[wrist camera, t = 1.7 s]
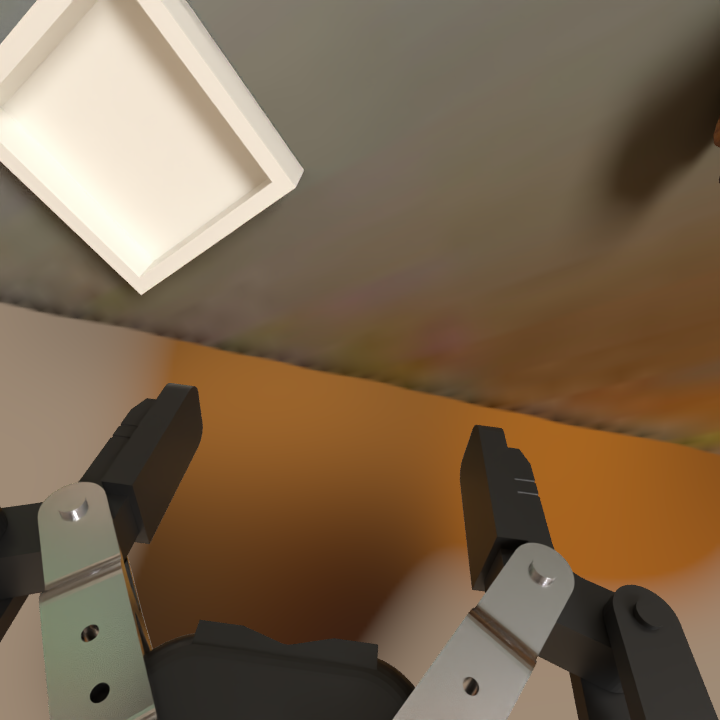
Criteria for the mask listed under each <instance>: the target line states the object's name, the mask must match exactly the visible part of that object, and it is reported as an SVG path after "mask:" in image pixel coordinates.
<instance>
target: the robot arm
mask: <svg viewBox="0 0 720 720" xmlns="http://www.w3.org/2000/svg"><path fill="white" fill-rule="evenodd" d="M202 425H203V424H202V417H201V410H200V403H199V395H198V390H197V388H196V387H195V386H187V385H181V384H173V383H168V384H167V385H166V386H165V387H164V389H163V390H162V392H161V393H160V395H159V396H158V398H157V399H148V398H147V399H145V400H144V401H143V402H141V403H140V404H138V405H137V406H135V407H134V408H133V409H131V410H130V412H129V413H128V414H127V416H126V417H125V419H124V420H123V421H122V423H121V426H119V427H118V428H117V430H116V431H115V432H114V434H113V437H112V438H110V439H109V441H108V442H107V444H106V445H105V446H104V448H103V449H102V450H101V452H100V453H99V455H98V456H97V457H96V459H95V460H94V461H93V463H92V464H91V466H90V467H89V468H88V470H87V471H86V473H85V474H84V475H83V477H82V478H81V479H80V481H79V482H78V483H73V484H69V485H67V486H64V487H62V488H60V489H58V490H57V491H55V492H54V493H52V494H51V495H50V496H49V497H48V498H47V499H46V500H45V501H44V502H41V503H35V504H28V505H21V506H14V507H6V508H1V507H0V642H1V640H2V638H3V637H4V635H5V633H6V631H7V630H8V628H9V627H10V625H11V624H12V622H13V620H14V619H15V617H16V615H17V614H18V612H19V610H20V608H21V607H22V605H23V603H24V602H25V600H26V599H27V597H28V595H29V594H34V593H40V592H41V593H40V596H39V608H40V619H41V630H42V640H43V651H44V660H45V661H44V662H45V672H46V683H47V694H48V704H49V715H50V720H507V718H508V716H509V714H510V712H511V711H512V709H513V707H514V705H515V703H516V701H517V699H518V697H519V695H520V694H521V692H522V690H523V688H524V686H525V684H526V682H527V680H528V679H529V677H530V675H531V673H532V671H533V669H534V667H535V664H536V659H537V657H538V656H539V657H541V658H543V659H545V660H547V661H549V662H551V663H553V664H555V665H557V666H559V667H561V668H563V669H565V670H567V671H569V673H570V678H571V683H572V688H573V693H574V699H575V704H576V709H577V714H578V719H579V720H718V717H717V715H716V713H715V710H714V708H713V705H712V702H711V700H710V697H709V695H708V692H707V690H706V687H705V685H704V682H703V680H702V677H701V675H700V672H699V670H698V667H697V665H696V662H695V660H694V657H693V654H692V652H691V649H690V647H689V644H688V642H687V639H686V637H685V634H684V632H683V629H682V627H681V624H680V622H679V620H678V618H677V616H676V614H675V613H674V611H673V610H672V609H671V607H670V606H669V605H668V604H667V603H666V602H665V601H664V600H663V599H662V598H660V597H659V596H657V595H656V594H655V593H653V592H652V591H650V590H648V589H646V588H643V587H640V586H636V585H625V586H622V587H620V588H619V589H618V590H617V591H616V592H612V591H610V590H608V589H606V588H603V587H601V586H599V585H596V584H594V583H592V582H590V581H587V580H585V579H583V578H581V577H580V576H578V575H576V574H575V573H574V572H572V570H571V568H570V566H569V564H568V563H567V562H566V560H565V559H564V558H563V557H562V556H561V555H560V554H559V553H557V552H556V551H555V550H554V547H553V545H552V542H551V538H550V534H549V530H548V527H547V523H546V519H545V516H544V512H543V509H542V505H541V501H540V497H538V490H537V487H536V484H535V483H534V481H535V479H534V476H533V472H532V468H531V465H530V463H529V462H528V460H527V459H526V458H525V457H524V455H523V454H522V452H521V451H520V450H519V449H515V448H508V447H507V444H506V439H505V435H504V431H503V429H502V428H496V427H488V426H481V425H475V426H474V428H473V430H472V433H471V436H470V439H469V442H468V445H467V448H466V450H465V453H464V457H463V459H462V463H461V470H460V485H461V494H462V503H463V511H464V521H465V530H466V539H467V548H468V556H469V566H470V574H471V584H472V590H479V591H485V594H484V596H483V598H482V599H481V600H480V602H479V603H478V604H477V606H476V607H475V608H473V609H472V610H471V611H470V612H469V613H468V615H467V616H466V617H465V619H464V620H463V621H462V623H461V624H460V626H459V627H458V628H457V630H456V631H455V633H454V634H453V635H452V637H451V638H450V640H449V641H448V642H447V644H446V645H445V647H444V648H443V650H442V651H441V652H440V654H439V655H438V657H437V658H436V659H435V661H434V662H433V664H432V665H431V666H430V668H429V669H428V671H427V672H426V673H425V675H424V676H423V678H422V679H421V680H420V682H419V683H418V685H417V686H416V687H414V685H413V684H412V683H411V682H410V681H409V680H408V679H407V678H406V677H405V676H404V675H403V674H402V673H401V672H400V671H398V670H397V669H396V668H395V667H393V666H391V665H390V664H388V663H387V662H385V661H383V660H380V659H378V658H377V653H378V645H377V644H370V643H363V642H356V641H348V640H341V639H327V640H320V641H313V642H307V643H299V644H293V645H285V644H282V643H280V642H278V641H275V640H273V639H271V638H269V637H266V636H264V635H262V634H260V633H258V632H256V631H254V630H251V629H249V628H247V627H245V626H241V625H233V624H226V623H218V622H211V621H205V620H200V621H199V624H198V627H197V630H196V633H195V634H188V635H185V636H181V637H178V638H175V639H173V640H170V641H168V642H165V643H163V644H162V645H160V646H158V647H156V648H154V649H152V645H151V642H150V638H149V635H148V632H147V629H146V625H145V622H144V618H143V614H142V610H141V606H140V602H139V599H138V594H137V590H136V586H135V583H134V579H133V575H132V571H131V567H130V563H129V559H128V556H127V555H128V553H129V551H130V549H131V548H132V546H133V544H134V542H139V543H146V544H150V542H151V540H152V538H153V536H154V534H155V532H156V530H157V528H158V526H159V524H160V522H161V520H162V518H163V516H164V514H165V512H166V510H167V508H168V506H169V503H170V502H171V500H172V498H173V496H174V494H175V492H176V490H177V488H178V486H179V484H180V482H181V480H182V478H183V476H184V474H185V472H186V470H187V468H188V466H189V464H190V462H191V460H192V458H193V456H194V454H195V452H196V450H197V448H198V446H199V443H200V441H201V436H202V429H203V426H202Z"/></svg>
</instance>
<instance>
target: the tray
mask: <svg viewBox="0 0 720 720" xmlns="http://www.w3.org/2000/svg"><path fill="white" fill-rule="evenodd" d="M0 161H1V162H2V163H3V164H4V165H5V166H6V167H7V168H8V169H9V170H10V171H11V172H12V173H13V174H15V175H16V176H17V177H18V178H19V179H20V180H21V181H22V182H23V183H24V184H25V185H26V186H27V187H28V188H29V189H30V190H31V191H32V192H33V193H34V194H36V195H37V196H38V197H39V198H40V199H41V200H42V201H43V202H44V203H45V204H46V205H47V206H48V207H49V208H50V209H51V210H52V211H53V212H54V213H55V214H57V215H58V216H59V217H60V218H61V219H62V220H63V221H64V222H65V223H66V224H67V225H68V226H69V227H70V228H71V229H72V230H73V231H74V232H75V233H77V234H78V235H79V236H80V237H81V238H82V239H83V240H84V241H85V242H86V243H87V244H88V245H89V246H90V247H91V248H92V249H93V250H94V251H95V252H96V253H98V254H99V255H100V256H101V257H102V258H103V259H104V260H105V261H106V262H107V263H108V264H109V265H110V266H111V267H112V268H113V269H114V270H115V271H116V272H117V273H119V274H120V275H121V276H122V277H123V278H124V279H125V280H126V281H127V282H128V283H129V284H130V285H131V286H132V287H133V288H134V289H135V290H136V291H137V292H139V293H140V294H141V295H142V294H143V293H145V292H146V291H148V290H149V289H151V288H152V287H153V286H155V285H156V284H158V283H159V282H161V281H162V280H164V279H165V278H166V277H168V276H169V275H171V274H172V273H174V272H175V271H176V270H178V269H179V268H181V267H182V266H184V265H185V264H186V263H188V262H189V261H191V260H192V259H194V258H195V257H197V256H198V255H199V254H201V253H202V252H204V251H205V250H207V249H208V248H209V247H211V246H212V245H214V244H215V243H217V242H218V241H220V240H221V239H222V238H224V237H225V236H227V235H228V234H230V233H231V232H232V231H234V230H235V229H237V228H238V227H240V226H241V225H242V224H244V223H245V222H247V221H248V220H250V219H251V218H253V217H254V216H255V215H257V214H258V213H260V212H261V211H263V210H264V209H265V208H267V207H268V206H270V205H271V204H273V203H274V202H275V201H277V200H278V199H280V198H281V197H283V196H284V195H286V194H287V193H288V192H290V191H291V190H293V189H294V188H296V186H297V184H298V182H299V180H300V178H301V176H302V173H303V171H304V169H303V168H302V166H301V165H300V164H299V162H298V161H297V159H296V158H295V156H294V155H293V154H292V152H291V151H290V149H289V148H288V146H287V145H286V143H285V142H284V141H283V139H282V138H281V136H280V135H279V133H278V132H277V130H276V129H275V128H274V126H273V125H272V123H271V122H270V120H269V119H268V118H267V116H266V115H265V113H264V112H263V110H262V109H261V107H260V106H259V105H258V103H257V102H256V100H255V99H254V97H253V96H252V95H251V93H250V92H249V90H248V89H247V87H246V86H245V84H244V83H243V82H242V80H241V79H240V77H239V76H238V74H237V73H236V71H235V70H234V69H233V67H232V66H231V64H230V63H229V61H228V60H227V59H226V57H225V56H224V54H223V53H222V51H221V50H220V48H219V47H218V46H217V44H216V43H215V41H214V40H213V38H212V37H211V35H210V34H209V33H208V31H207V30H206V28H205V27H204V25H203V24H202V23H201V21H200V20H199V18H198V17H197V15H196V14H195V12H194V11H193V10H192V8H191V7H190V5H189V4H188V2H187V1H186V0H37V1H36V2H35V4H34V5H33V6H32V7H31V8H30V10H29V11H28V12H27V13H26V14H25V16H24V17H23V18H22V19H21V20H20V22H19V23H18V24H17V25H16V26H15V28H14V29H13V30H12V31H11V32H10V34H9V35H8V36H7V37H6V38H5V40H4V41H3V42H2V43H1V44H0Z"/></svg>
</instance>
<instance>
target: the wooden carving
mask: <svg viewBox="0 0 720 720" xmlns="http://www.w3.org/2000/svg"><path fill="white" fill-rule="evenodd" d="M713 137H714V144H715V145H716V146H718V147H720V117H719V120H718V122H717V124H716V129H715V132H714V135H713ZM719 183H720V178H719Z"/></svg>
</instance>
